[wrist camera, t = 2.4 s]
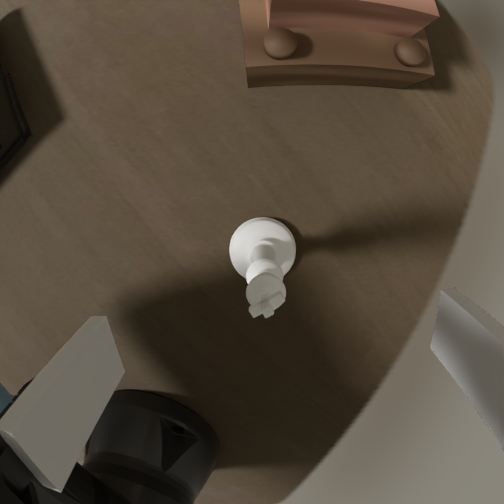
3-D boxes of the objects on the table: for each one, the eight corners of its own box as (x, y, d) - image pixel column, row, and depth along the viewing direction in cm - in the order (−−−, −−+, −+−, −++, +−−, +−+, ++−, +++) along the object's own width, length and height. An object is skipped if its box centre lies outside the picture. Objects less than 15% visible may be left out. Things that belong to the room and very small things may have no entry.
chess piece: (216, 238, 23) (189, 294, 13) (274, 204, 22) (289, 237, 12) (251, 291, 24) (248, 372, 14) (307, 260, 23) (339, 327, 14)
